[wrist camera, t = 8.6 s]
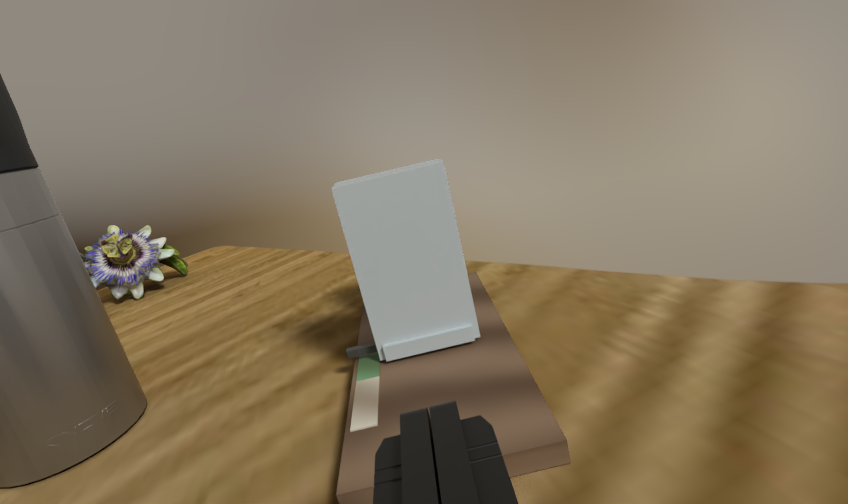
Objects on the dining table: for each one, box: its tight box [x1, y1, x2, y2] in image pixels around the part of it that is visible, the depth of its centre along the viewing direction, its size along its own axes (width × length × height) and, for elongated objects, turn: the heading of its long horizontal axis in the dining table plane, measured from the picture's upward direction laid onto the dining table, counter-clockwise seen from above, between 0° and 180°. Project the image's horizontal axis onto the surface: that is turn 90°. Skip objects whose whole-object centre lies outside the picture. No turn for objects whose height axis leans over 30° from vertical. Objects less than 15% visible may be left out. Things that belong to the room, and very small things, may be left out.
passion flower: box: [79, 225, 188, 300], centre depth 66 cm, size 11×11×12 cm
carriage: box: [332, 158, 481, 361], centre depth 31 cm, size 8×8×11 cm
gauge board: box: [336, 272, 570, 504], centre depth 30 cm, size 22×10×8 cm, turn 5°
